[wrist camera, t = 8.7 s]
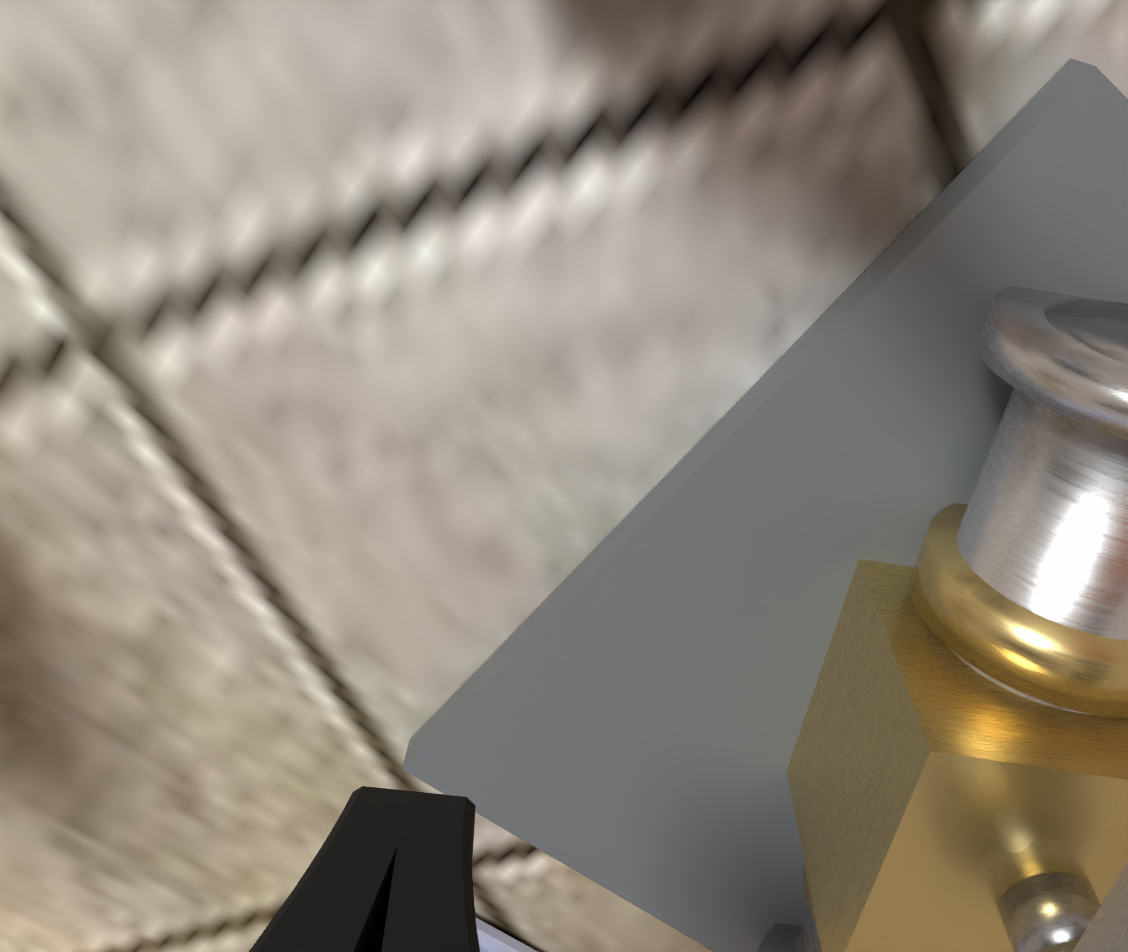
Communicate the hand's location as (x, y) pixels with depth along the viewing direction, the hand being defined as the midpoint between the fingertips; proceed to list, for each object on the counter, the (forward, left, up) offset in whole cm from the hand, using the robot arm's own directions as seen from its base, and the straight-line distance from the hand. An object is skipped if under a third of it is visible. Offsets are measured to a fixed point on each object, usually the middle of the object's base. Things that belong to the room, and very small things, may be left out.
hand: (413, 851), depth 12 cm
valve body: (+2, -11, -10) cm, 15 cm away
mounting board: (+2, -11, -10) cm, 15 cm away
